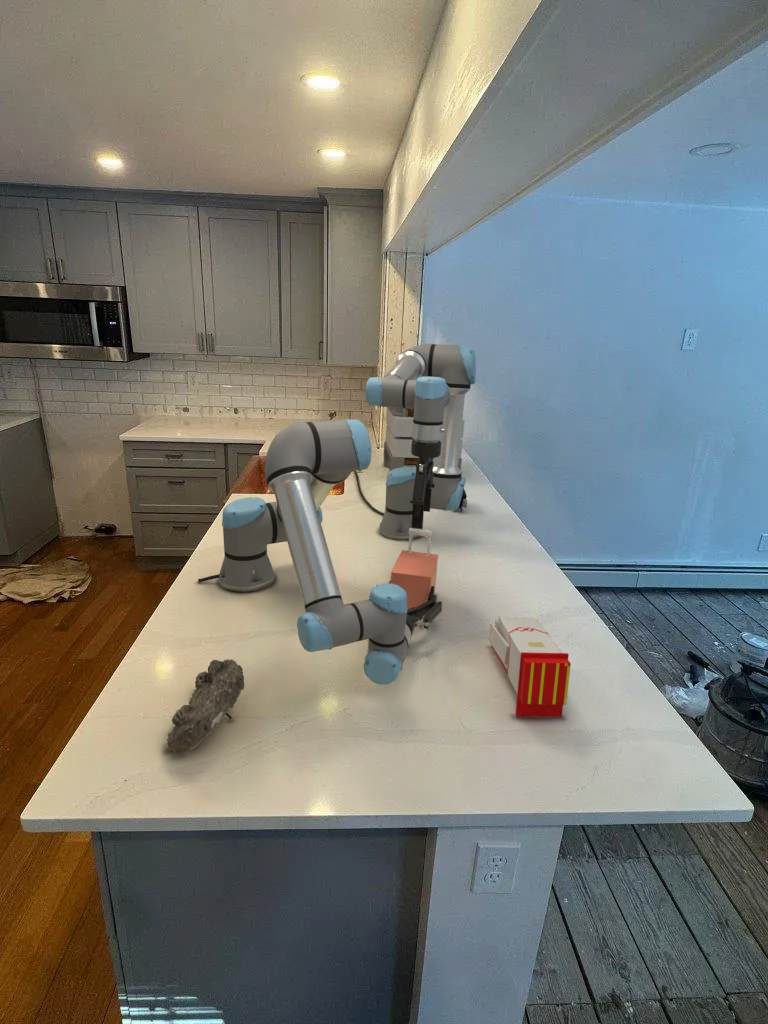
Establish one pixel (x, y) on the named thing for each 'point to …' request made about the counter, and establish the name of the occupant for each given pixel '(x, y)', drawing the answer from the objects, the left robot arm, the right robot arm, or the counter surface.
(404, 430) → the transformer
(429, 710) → the counter surface
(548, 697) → the toy
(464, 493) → the figurine character
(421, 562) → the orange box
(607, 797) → the counter surface
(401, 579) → the chest
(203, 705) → the fossil
